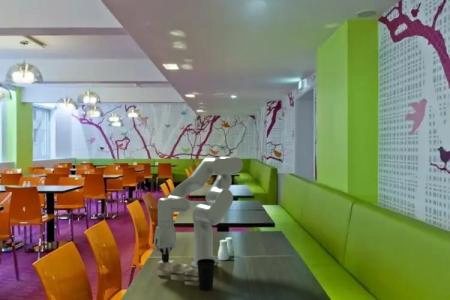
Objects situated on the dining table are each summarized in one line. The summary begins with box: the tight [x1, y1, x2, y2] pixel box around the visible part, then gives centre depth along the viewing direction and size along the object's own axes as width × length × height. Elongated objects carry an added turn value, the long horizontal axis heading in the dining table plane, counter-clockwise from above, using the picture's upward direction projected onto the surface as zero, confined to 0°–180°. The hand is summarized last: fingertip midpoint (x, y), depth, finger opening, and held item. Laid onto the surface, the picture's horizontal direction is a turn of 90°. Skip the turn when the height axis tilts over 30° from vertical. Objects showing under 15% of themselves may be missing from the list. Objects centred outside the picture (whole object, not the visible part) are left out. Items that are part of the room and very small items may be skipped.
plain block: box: [156, 259, 175, 277], centre depth 204 cm, size 6×6×6 cm
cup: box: [197, 259, 216, 292], centre depth 183 cm, size 8×8×12 cm
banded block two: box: [183, 267, 199, 287], centre depth 191 cm, size 6×6×6 cm
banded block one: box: [170, 262, 189, 282], centre depth 198 cm, size 6×6×6 cm
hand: (165, 261), depth 204 cm, fingers closed
